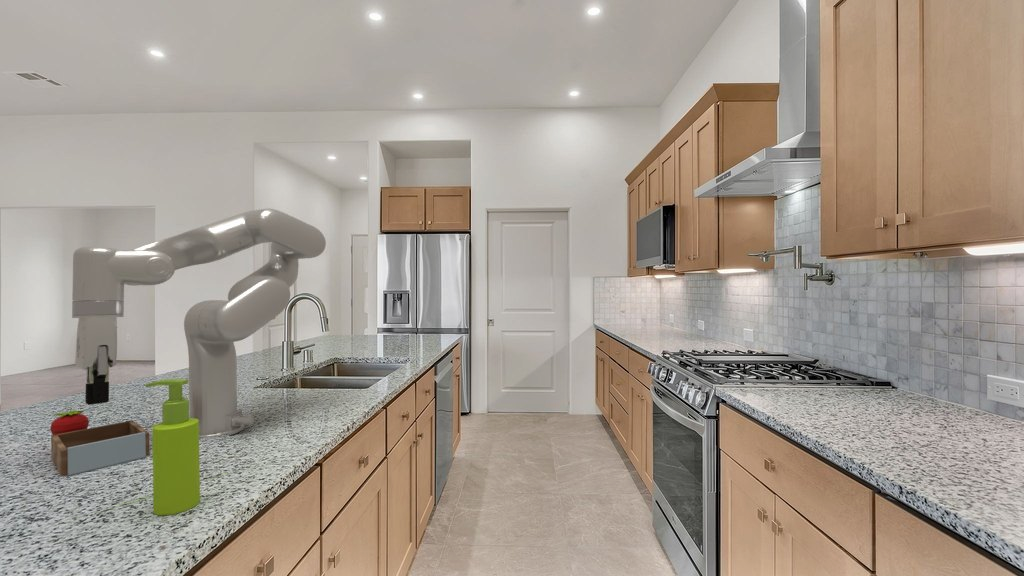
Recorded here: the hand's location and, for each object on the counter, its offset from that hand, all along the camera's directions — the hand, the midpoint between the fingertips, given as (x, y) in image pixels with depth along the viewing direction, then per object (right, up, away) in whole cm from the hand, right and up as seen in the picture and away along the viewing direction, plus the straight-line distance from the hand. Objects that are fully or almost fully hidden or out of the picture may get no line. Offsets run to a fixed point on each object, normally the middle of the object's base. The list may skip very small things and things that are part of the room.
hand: (97, 402), depth 88 cm
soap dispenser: (+28, -12, -18) cm, 36 cm away
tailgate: (+5, -11, -3) cm, 13 cm away
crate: (-1, -12, +2) cm, 12 cm away
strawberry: (-13, -13, +8) cm, 20 cm away
